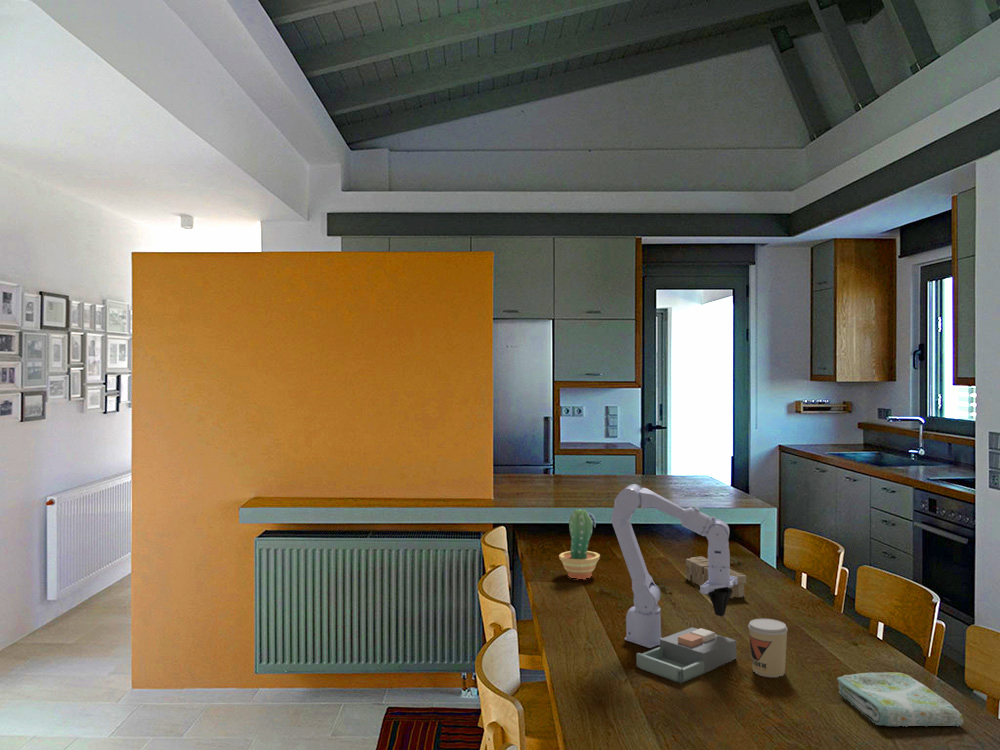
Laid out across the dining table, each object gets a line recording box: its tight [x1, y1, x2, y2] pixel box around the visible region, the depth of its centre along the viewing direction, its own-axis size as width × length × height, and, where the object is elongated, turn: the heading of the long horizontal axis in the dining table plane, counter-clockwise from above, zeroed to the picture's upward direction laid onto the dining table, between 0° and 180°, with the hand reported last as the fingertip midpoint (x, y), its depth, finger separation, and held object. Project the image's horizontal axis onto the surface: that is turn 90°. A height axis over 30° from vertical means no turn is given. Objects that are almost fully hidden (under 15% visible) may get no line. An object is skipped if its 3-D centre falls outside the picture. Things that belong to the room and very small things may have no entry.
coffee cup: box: [747, 618, 788, 678], centre depth 192 cm, size 9×9×12 cm
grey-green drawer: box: [635, 646, 705, 684], centre depth 194 cm, size 14×10×4 cm
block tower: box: [685, 555, 747, 599], centre depth 267 cm, size 8×8×29 cm
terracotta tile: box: [678, 633, 703, 647], centre depth 200 cm, size 4×4×2 cm
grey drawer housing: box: [659, 626, 737, 674], centre depth 202 cm, size 14×14×5 cm
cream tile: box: [691, 627, 716, 642], centre depth 203 cm, size 4×4×2 cm
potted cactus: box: [558, 508, 601, 580], centre depth 285 cm, size 15×15×25 cm
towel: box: [836, 671, 965, 728], centre depth 170 cm, size 18×21×5 cm
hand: (719, 615), depth 208 cm, fingers closed
